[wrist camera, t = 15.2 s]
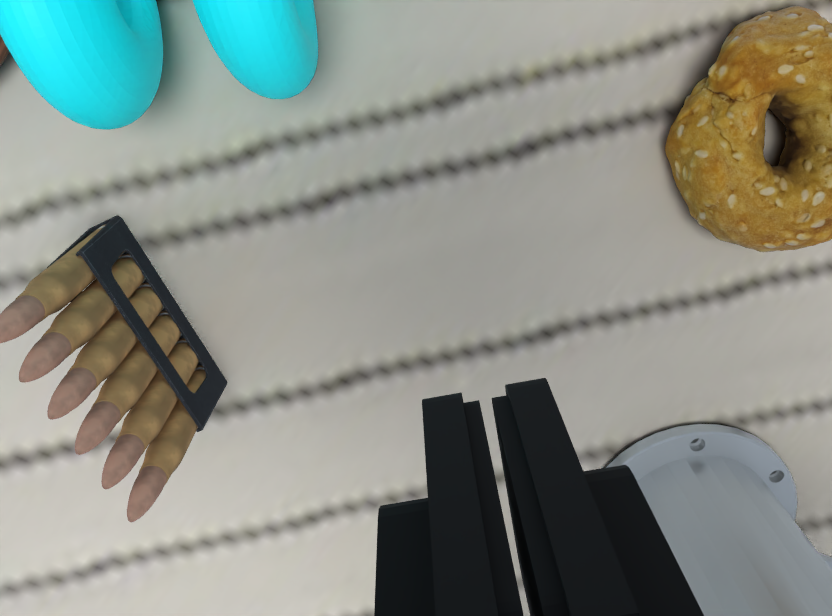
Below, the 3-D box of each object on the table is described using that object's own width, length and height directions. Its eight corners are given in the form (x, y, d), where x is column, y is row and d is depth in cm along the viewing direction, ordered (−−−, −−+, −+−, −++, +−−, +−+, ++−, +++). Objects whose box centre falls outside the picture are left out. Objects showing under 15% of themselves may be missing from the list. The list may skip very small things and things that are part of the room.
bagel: (882, -2, 33) (957, -2, 29) (842, 228, 37) (901, 258, 33) (666, 14, 33) (708, 16, 29) (651, 242, 37) (686, 274, 33)
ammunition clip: (88, 229, 36) (-48, 329, 25) (119, 214, 36) (-4, 308, 25) (199, 395, 40) (124, 545, 29) (228, 383, 40) (163, 529, 29)
